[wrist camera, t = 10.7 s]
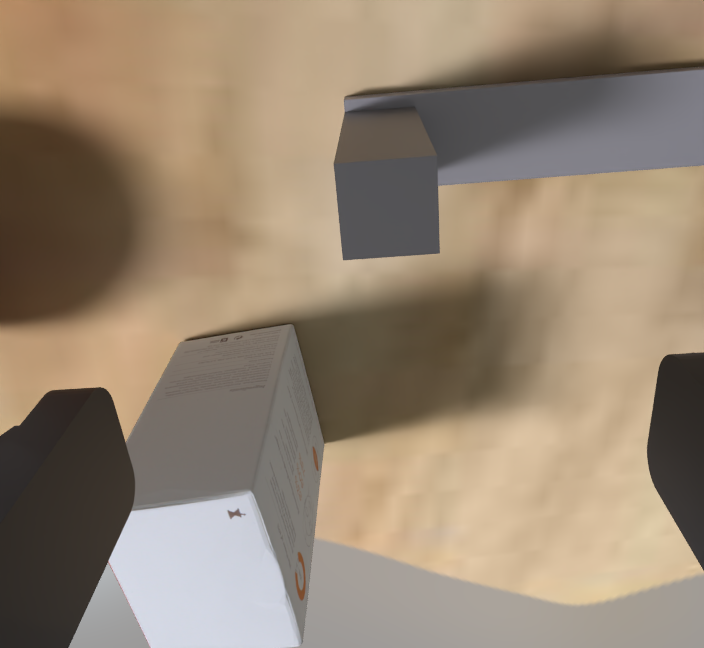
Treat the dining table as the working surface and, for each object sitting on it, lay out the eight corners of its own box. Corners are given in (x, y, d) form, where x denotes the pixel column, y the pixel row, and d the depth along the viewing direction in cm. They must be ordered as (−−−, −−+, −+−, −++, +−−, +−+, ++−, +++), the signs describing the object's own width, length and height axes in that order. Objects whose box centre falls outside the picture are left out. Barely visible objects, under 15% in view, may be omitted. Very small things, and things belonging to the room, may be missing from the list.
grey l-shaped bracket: (344, 96, 29) (332, 146, 19) (752, 61, 28) (970, 94, 18) (352, 185, 30) (344, 275, 20) (735, 155, 29) (925, 234, 19)
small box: (177, 339, 34) (79, 514, 22) (294, 320, 33) (255, 489, 22) (220, 460, 38) (153, 666, 26) (326, 445, 37) (307, 649, 25)
